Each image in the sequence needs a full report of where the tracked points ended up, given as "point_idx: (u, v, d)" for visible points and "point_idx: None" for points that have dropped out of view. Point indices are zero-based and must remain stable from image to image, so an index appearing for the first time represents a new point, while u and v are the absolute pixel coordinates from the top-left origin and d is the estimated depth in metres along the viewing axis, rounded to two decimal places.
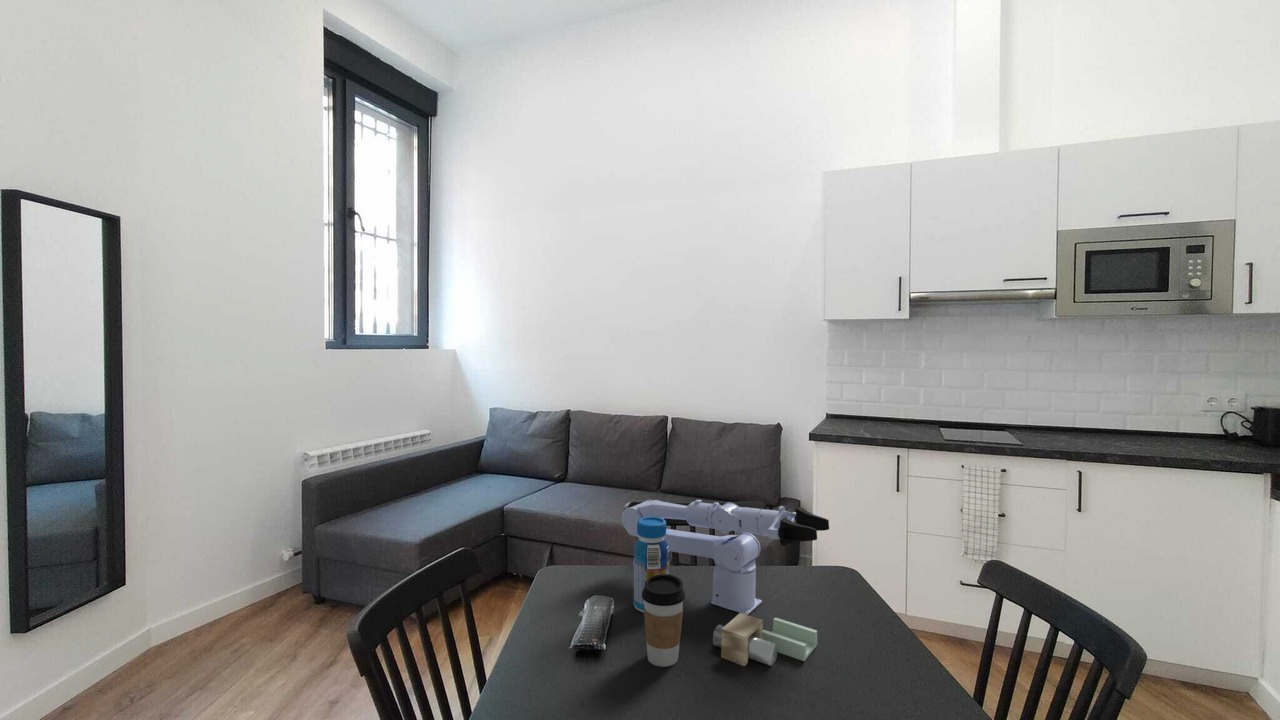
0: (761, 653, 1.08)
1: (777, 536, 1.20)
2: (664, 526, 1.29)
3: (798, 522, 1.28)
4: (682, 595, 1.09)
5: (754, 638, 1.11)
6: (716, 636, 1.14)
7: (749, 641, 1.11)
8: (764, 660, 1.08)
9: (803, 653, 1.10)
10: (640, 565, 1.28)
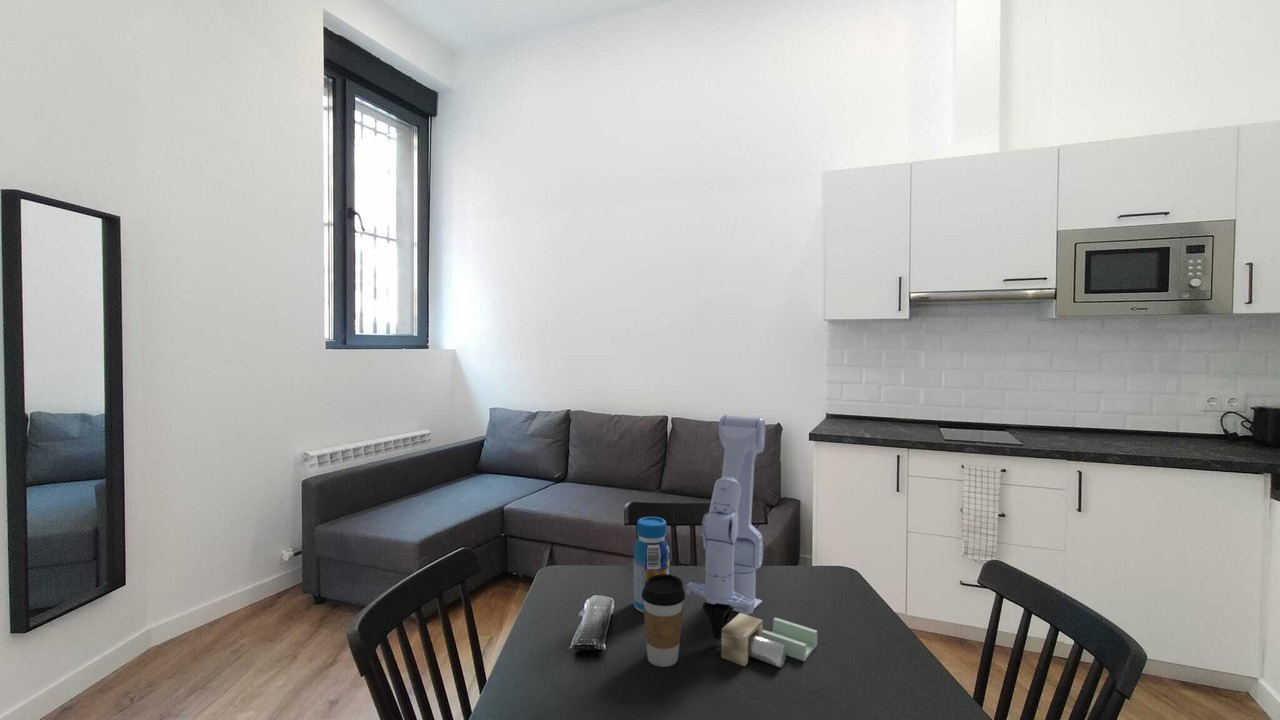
0: (770, 653, 1.08)
1: None
2: (664, 526, 1.29)
3: None
4: (682, 595, 1.09)
5: (763, 638, 1.11)
6: None
7: (759, 640, 1.10)
8: (773, 660, 1.07)
9: (803, 653, 1.10)
10: (640, 565, 1.28)
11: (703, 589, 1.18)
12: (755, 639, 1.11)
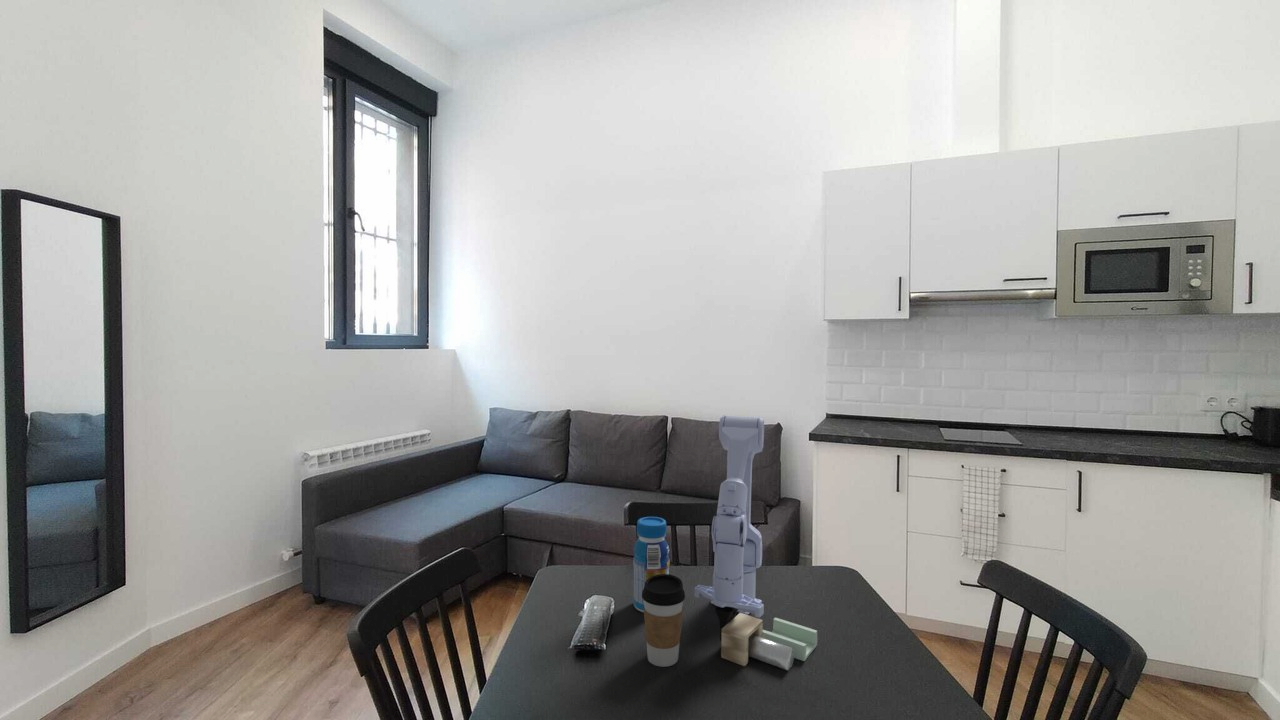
0: (778, 654, 1.07)
1: None
2: (664, 526, 1.29)
3: None
4: (682, 595, 1.09)
5: (772, 641, 1.10)
6: None
7: (767, 642, 1.10)
8: (781, 661, 1.07)
9: (803, 653, 1.10)
10: (640, 565, 1.28)
11: (712, 592, 1.16)
12: (763, 641, 1.10)
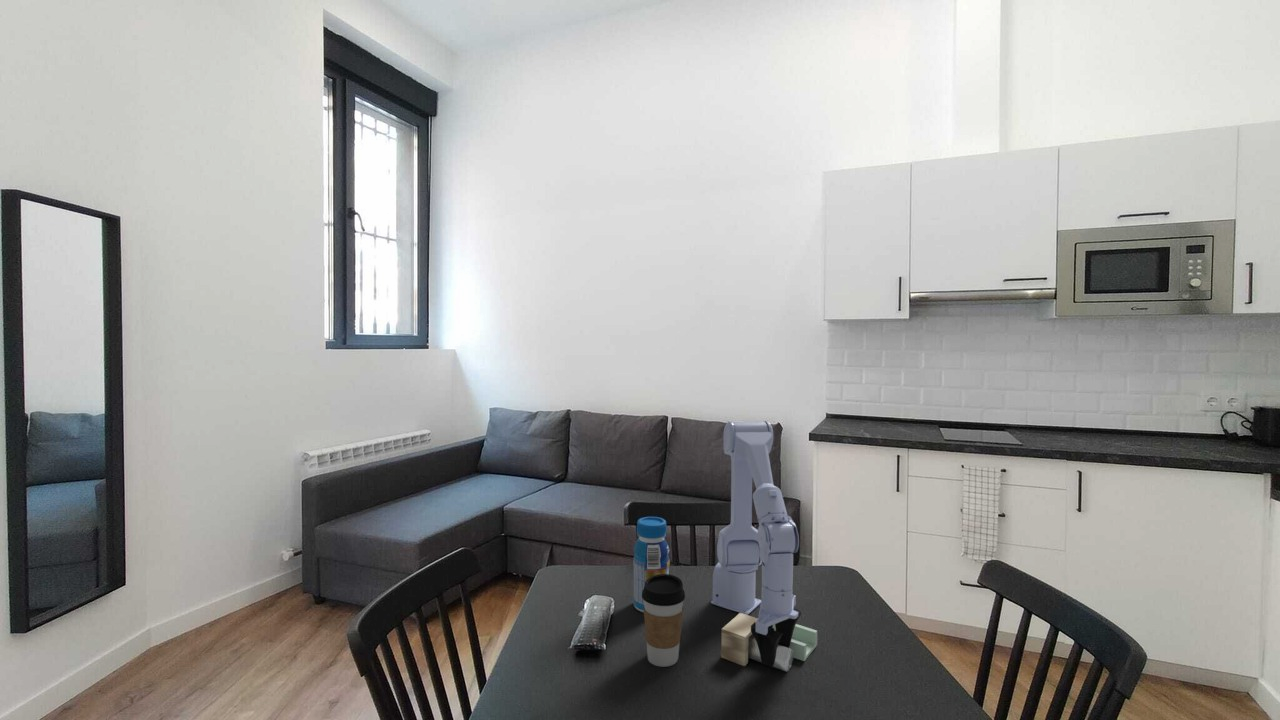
0: (777, 658, 1.07)
1: None
2: (664, 526, 1.29)
3: None
4: (682, 595, 1.09)
5: None
6: None
7: None
8: (780, 665, 1.06)
9: (803, 653, 1.10)
10: (640, 565, 1.28)
11: (770, 616, 1.05)
12: None
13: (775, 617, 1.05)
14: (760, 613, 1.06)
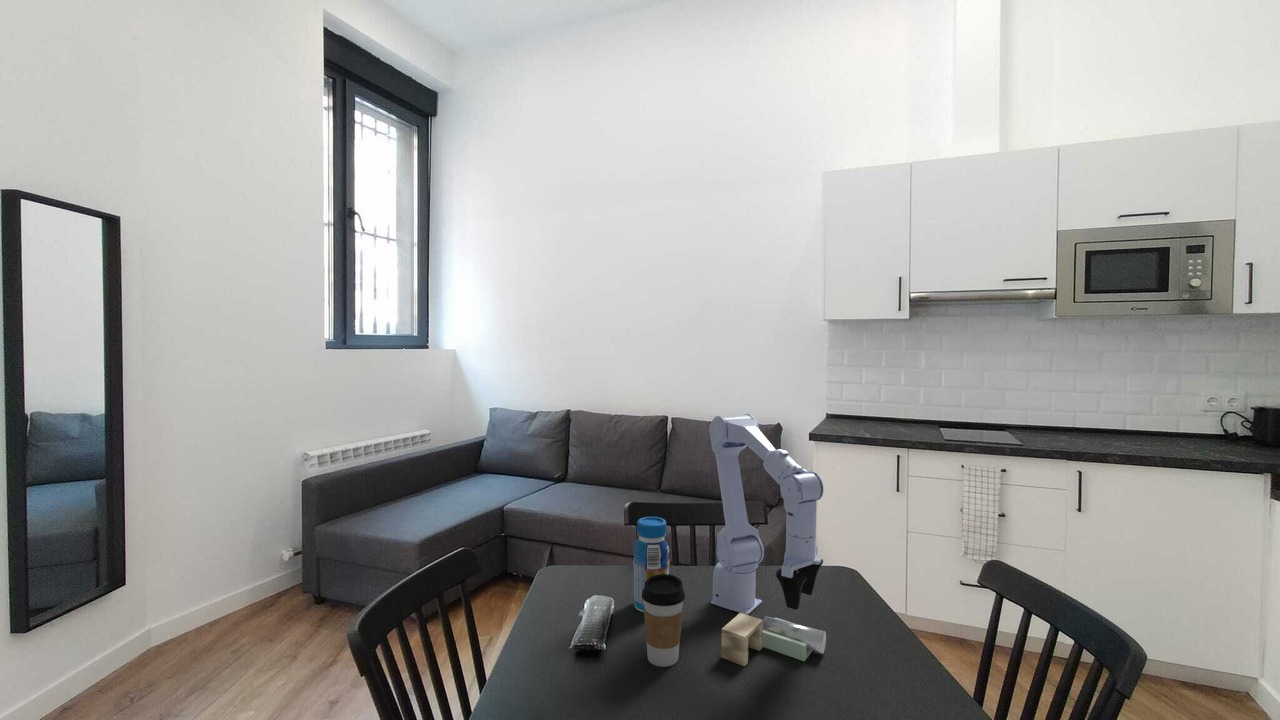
0: (813, 637, 1.12)
1: None
2: (664, 526, 1.29)
3: None
4: (682, 595, 1.09)
5: (805, 626, 1.15)
6: (765, 623, 1.16)
7: (801, 627, 1.14)
8: (816, 644, 1.11)
9: (803, 653, 1.10)
10: (640, 565, 1.28)
11: (794, 562, 1.11)
12: (796, 626, 1.14)
13: (799, 562, 1.11)
14: (785, 559, 1.12)
